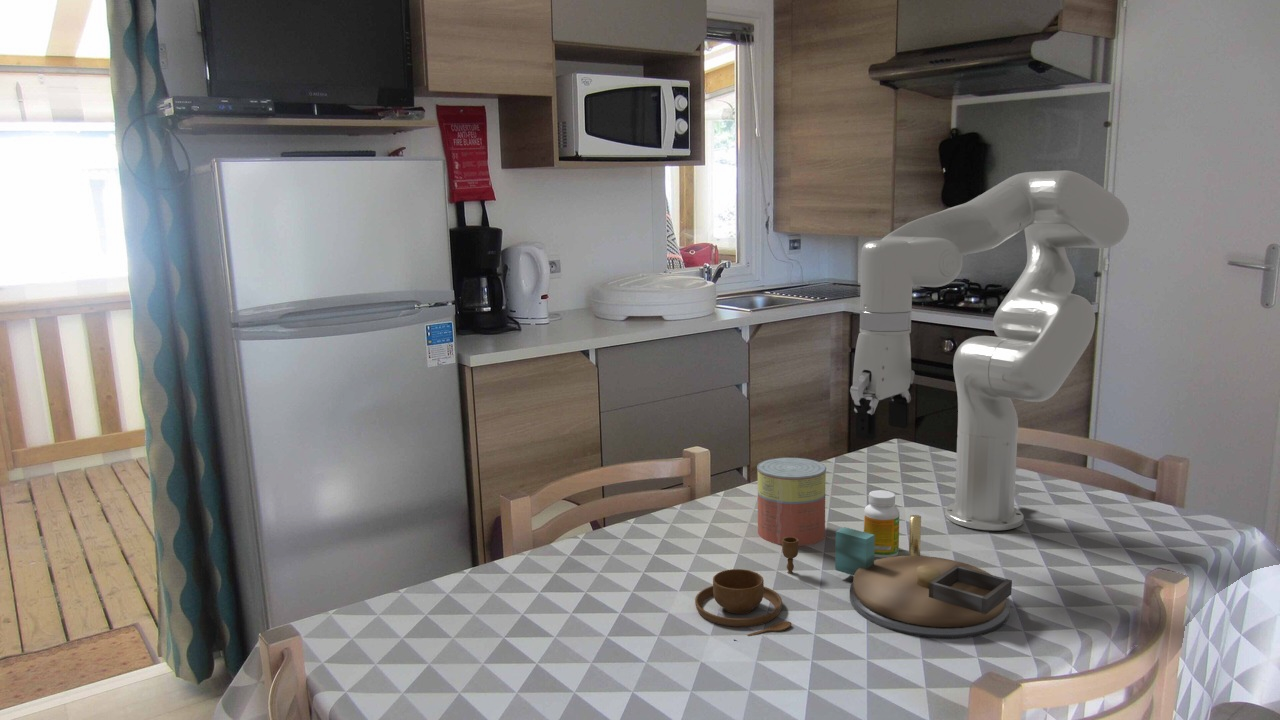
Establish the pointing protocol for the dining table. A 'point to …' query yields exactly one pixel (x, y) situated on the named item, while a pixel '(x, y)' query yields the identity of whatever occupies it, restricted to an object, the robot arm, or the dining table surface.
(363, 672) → the dining table surface
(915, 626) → the flange base
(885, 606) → the turntable plate
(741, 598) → the place setting
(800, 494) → the canned food
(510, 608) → the dining table surface
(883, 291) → the robot arm
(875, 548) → the supplement bottle
